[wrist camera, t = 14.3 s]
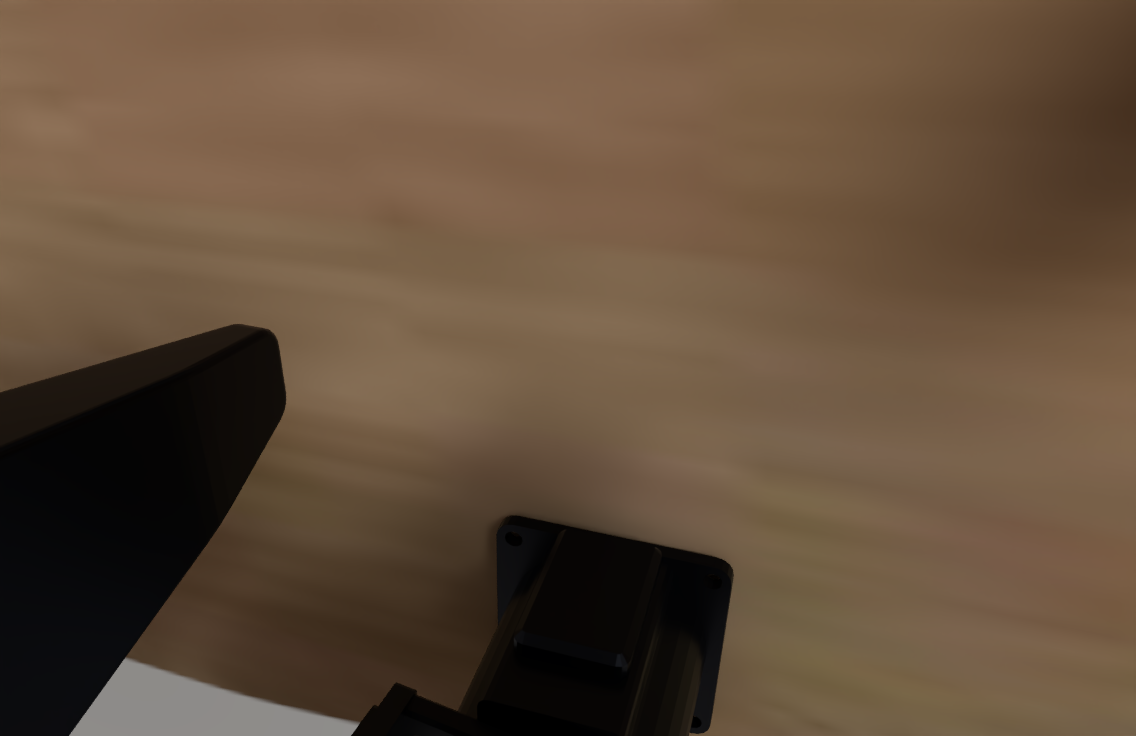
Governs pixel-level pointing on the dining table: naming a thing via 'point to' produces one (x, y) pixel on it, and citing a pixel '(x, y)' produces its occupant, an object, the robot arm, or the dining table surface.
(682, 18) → the dining table surface
